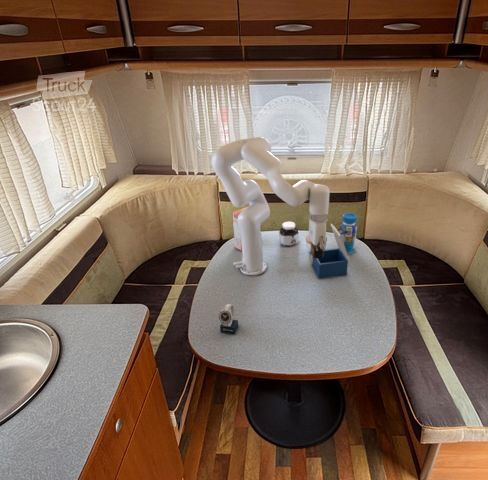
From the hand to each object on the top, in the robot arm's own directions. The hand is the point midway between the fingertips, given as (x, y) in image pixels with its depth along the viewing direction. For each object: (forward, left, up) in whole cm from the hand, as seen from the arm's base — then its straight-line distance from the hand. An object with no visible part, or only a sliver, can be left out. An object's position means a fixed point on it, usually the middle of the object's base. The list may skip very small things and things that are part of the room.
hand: (316, 254), depth 151 cm
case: (+10, +11, -17) cm, 23 cm away
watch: (-40, -18, -17) cm, 47 cm away
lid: (+14, +11, -2) cm, 18 cm away
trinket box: (+9, +29, -17) cm, 35 cm away
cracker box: (-24, +44, -17) cm, 53 cm away
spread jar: (-2, +42, -17) cm, 46 cm away
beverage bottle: (+25, +26, -17) cm, 40 cm away
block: (0, 0, 0) cm, 0 cm away
